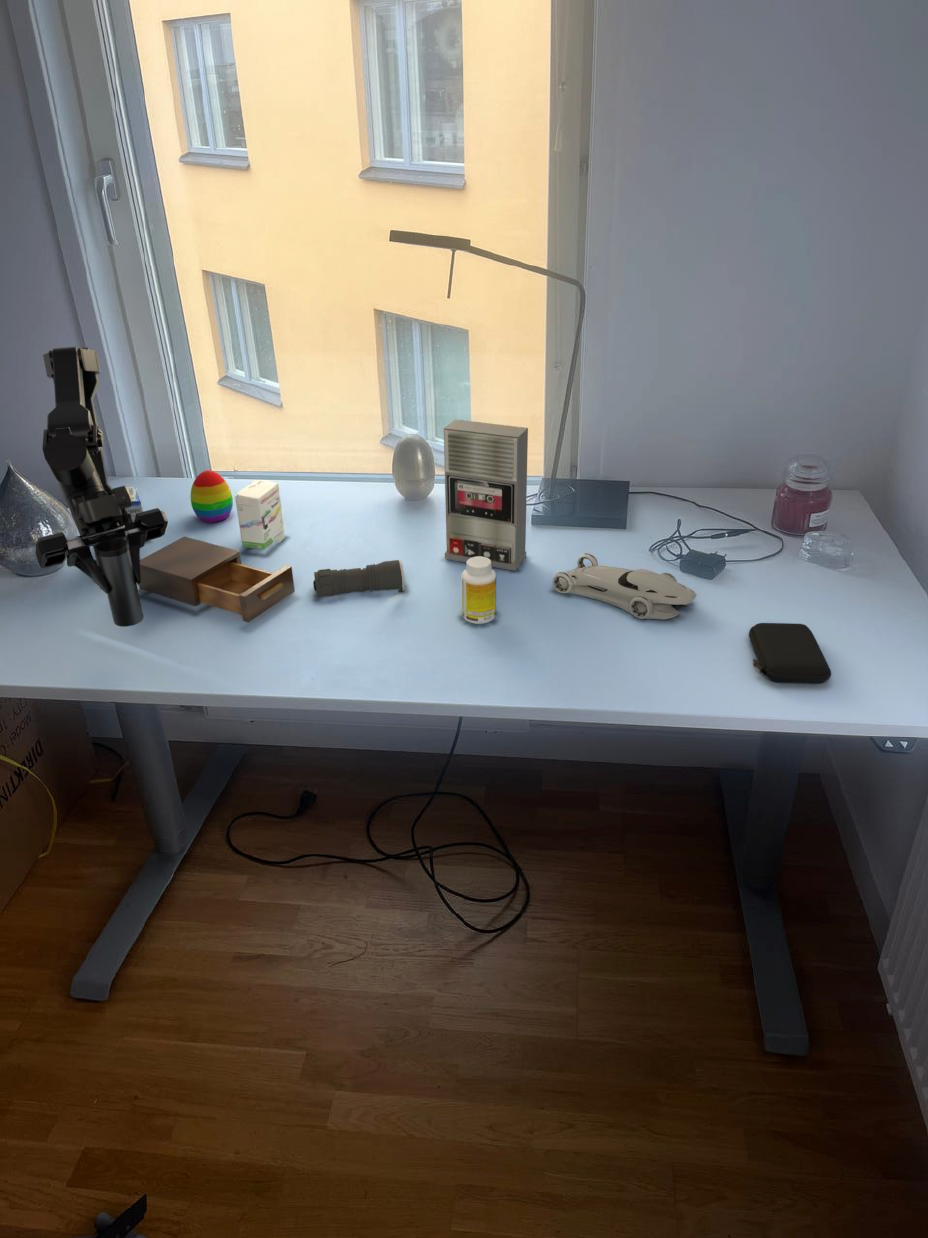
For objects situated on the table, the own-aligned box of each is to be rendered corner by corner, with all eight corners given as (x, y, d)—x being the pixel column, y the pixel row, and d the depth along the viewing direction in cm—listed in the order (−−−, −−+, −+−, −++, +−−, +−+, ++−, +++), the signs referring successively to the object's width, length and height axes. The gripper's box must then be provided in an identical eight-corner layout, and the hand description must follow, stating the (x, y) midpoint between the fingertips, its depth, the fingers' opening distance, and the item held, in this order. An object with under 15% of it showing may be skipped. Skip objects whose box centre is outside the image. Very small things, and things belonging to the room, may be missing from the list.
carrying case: (738, 634, 148) (757, 687, 135) (741, 617, 147) (760, 669, 134) (807, 636, 147) (832, 689, 135) (810, 619, 146) (836, 671, 133)
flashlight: (316, 606, 158) (312, 578, 155) (313, 591, 163) (310, 564, 160) (405, 596, 161) (404, 568, 158) (401, 581, 165) (399, 554, 163)
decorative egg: (229, 525, 187) (222, 478, 182) (189, 525, 187) (181, 478, 182) (238, 508, 194) (232, 463, 189) (199, 509, 194) (192, 463, 189)
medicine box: (121, 529, 186) (112, 489, 182) (144, 525, 188) (136, 485, 183) (125, 545, 180) (116, 503, 176) (149, 541, 181) (141, 499, 177)
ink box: (265, 556, 175) (257, 498, 169) (242, 553, 176) (233, 495, 170) (286, 537, 182) (279, 480, 176) (263, 534, 183) (256, 478, 177)
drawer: (189, 609, 157) (183, 578, 154) (237, 579, 166) (232, 550, 163) (252, 629, 151) (247, 597, 148) (298, 597, 160) (295, 567, 157)
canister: (109, 617, 143) (91, 543, 137) (138, 609, 146) (122, 535, 139) (118, 630, 140) (100, 554, 134) (148, 621, 143) (132, 546, 136)
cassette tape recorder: (444, 560, 172) (440, 429, 160) (457, 546, 177) (454, 418, 164) (515, 572, 168) (517, 439, 155) (526, 558, 173) (529, 427, 160)
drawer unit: (141, 596, 162) (133, 562, 159) (190, 568, 171) (184, 536, 168) (197, 613, 157) (190, 579, 153) (244, 583, 166) (239, 550, 162)
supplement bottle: (502, 620, 153) (502, 564, 148) (471, 628, 151) (471, 572, 146) (486, 605, 157) (486, 551, 152) (456, 613, 155) (455, 558, 150)
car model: (578, 566, 170) (579, 541, 167) (705, 602, 157) (708, 576, 155) (546, 590, 162) (547, 564, 159) (677, 630, 149) (681, 603, 147)
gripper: (20, 487, 130) (61, 587, 127) (152, 457, 139) (192, 550, 137) (21, 520, 139) (58, 613, 137) (144, 490, 148) (181, 577, 146)
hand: (123, 588), depth 139 cm, fingers closed on canister, 4 cm apart
